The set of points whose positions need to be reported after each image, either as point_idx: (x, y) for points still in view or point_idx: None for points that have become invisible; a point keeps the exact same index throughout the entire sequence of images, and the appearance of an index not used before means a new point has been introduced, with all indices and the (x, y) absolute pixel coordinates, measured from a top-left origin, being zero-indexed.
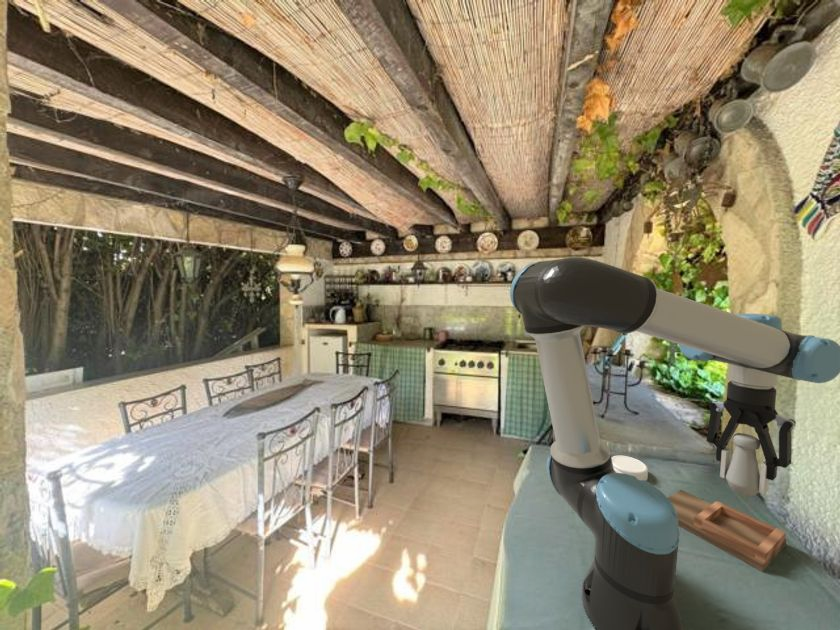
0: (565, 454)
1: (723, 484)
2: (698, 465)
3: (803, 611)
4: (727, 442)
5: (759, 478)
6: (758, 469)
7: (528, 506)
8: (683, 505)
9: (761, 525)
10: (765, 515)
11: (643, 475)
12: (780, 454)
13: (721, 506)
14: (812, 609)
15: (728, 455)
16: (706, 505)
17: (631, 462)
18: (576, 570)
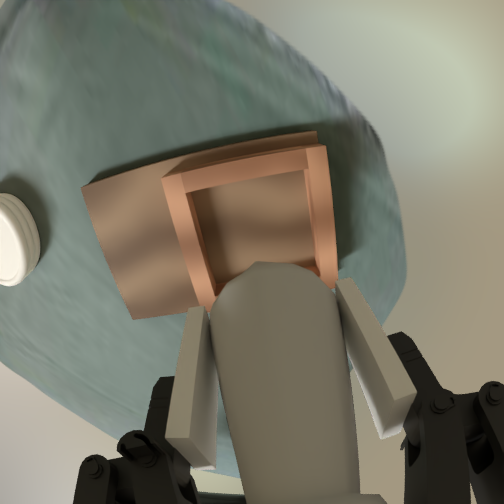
0: None
1: (92, 11)
2: (25, 8)
3: (384, 300)
4: (175, 487)
5: (345, 349)
6: (346, 369)
7: (118, 435)
8: (138, 252)
9: (282, 172)
10: (221, 37)
11: (27, 238)
12: (476, 480)
13: (185, 195)
14: (390, 284)
15: (202, 418)
16: (150, 188)
17: None
18: (225, 449)
